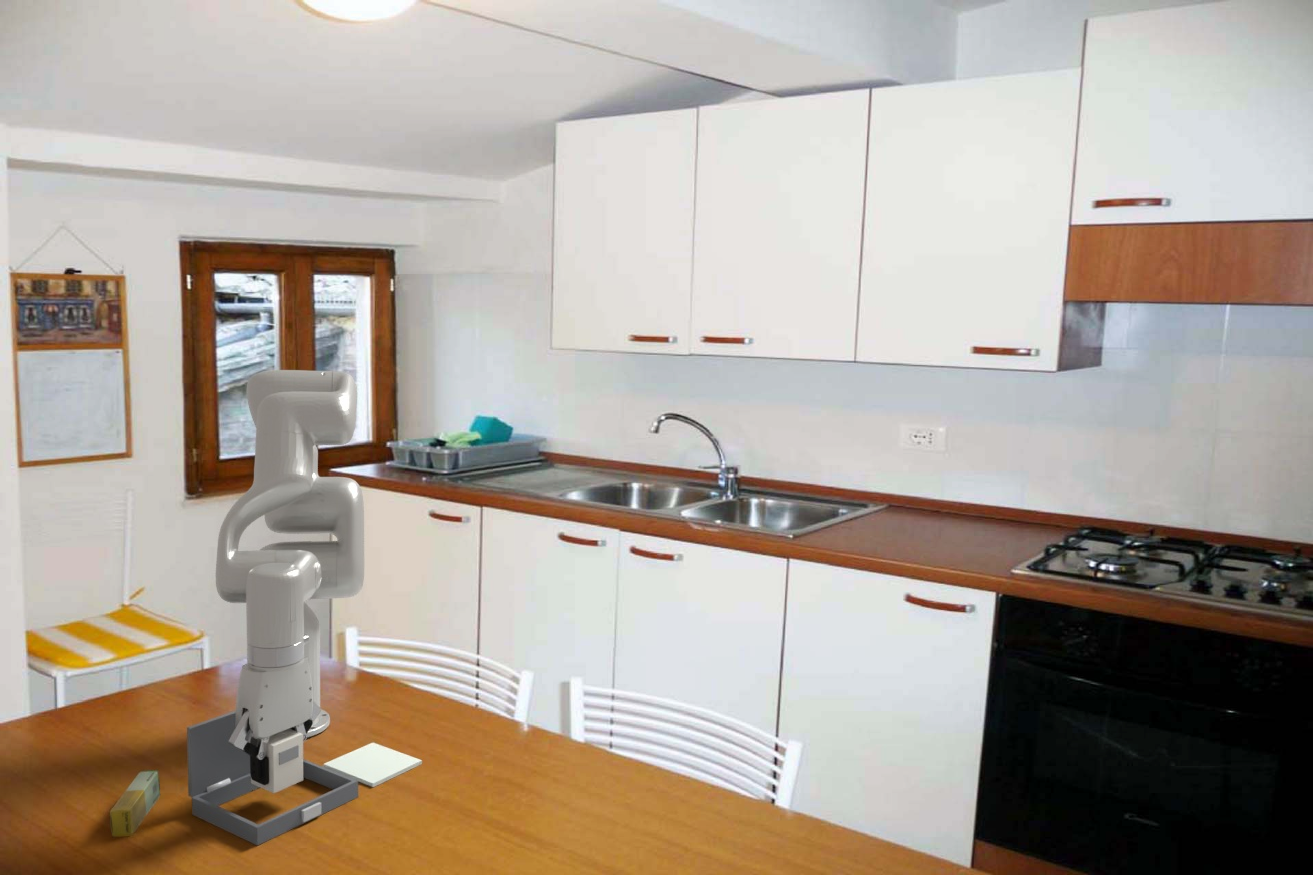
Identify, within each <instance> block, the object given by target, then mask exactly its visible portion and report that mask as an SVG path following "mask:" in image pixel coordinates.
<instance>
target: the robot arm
mask: <svg viewBox="0 0 1313 875" xmlns="http://www.w3.org/2000/svg"><path fill="white" fill-rule="evenodd" d="M246 399H247V400H246V401H247V404H248V408H249V412H250V415H251V419H252V422H253V424H254V427H255V447H254V449H255V451H254V454H255V455H254V466H253V482H252V485H251V487H250V488H249V489H248V490H247V491H246V492H245V493H243V494H242V495H241V496H240V497H239V498H238V499H237V501H235V503H234V504H233V505H232V506H231V507H230V509H229V511H228V512H227V514H226V515H225V517H224V519H223V522H222V524H221V526H220V529H219V533H218V539H217V549H216V550H217V551H216V563H215V587H216V591H217V594H218V596H219V597H220V598H221V599H222V600H223V601H224V602H227V603H230V604H246V605H245V606H246V613H245V614H246V657H247V658H246V660H247V661H246V662H247V663H245V664H242V666H241V668H240V674H239V677H238V683H237V690H236V702H235V710H236V728H235V730H234V732H233V734H232V736H231V737H230V739H229V744H231V745H233V746H235V747H237V748H240V749H241V750H243V751H244V752H246V754H248V755H250V775H251V778H252V780H254V781H256V782H258V783H260V784H263V785H266V784H268V783H269V758H268V757H266V756H265V754H266V750H267V745H268V741H269V736H272V735H275V734H277V733H280V732H282V731H285V730H287V729H292V730H294V731H297V732H299V733H302V734H303V743H305V742H306V740H307V739H308V738H310V737H313V736H316V735H318V734H320V733H322V732H324V731H325V730H326V729H327V728H328V727H329V725H330V723H331V717H330V714H329V713H328V712H327V711H326V710H324V709H322V708H321V627H320V626H321V624H320V622H319V619H318V617H317V615H316V613H315V612H314V611H313V609H312V608H311V607H310V606H309V605H308V604H307V601H310V600H329V599H331V600H332V599H346V598H351V597H354V596H357V595H359V593H360V592H361V590H362V589H363V586H364V582H365V581H364V580H365V510H364V509H365V508H364V507H365V506H364V496H363V492H362V489H361V486H360V484H359V483H358V482H357V481H356V480H355V479H353V478H350V477H344V476H320V475H319V471H318V470H319V469H318V468H319V467H318V466H319V465H318V464H319V462H318V461H319V450H318V447H317V446H342V445H346V444H348V443H350V441H351V440H352V439H353V437H354V433H355V430H356V429H355V428H356V423H357V406H358V390H357V384H356V381H355V379H354V377H353V376H352V375H351V374H350V373H348V372H346V371H340V370H339V371H337V370H306V369H305V370H303V369H299V370H298V369H274V370H264V371H260V372H257V373H255V374H253V375H252V376H250V378H249V379H248V381H247V384H246ZM263 516H264V521H265V525H266V527H267V528H268V529H269V530H270V531H271V532H274V533H277V534H283V535H284V534H287V535H288V534H290V535H292V534H293V535H296V534H297V535H300V534H301V535H303V534H306V535H307V534H309V535H310V534H311V535H312V534H313V535H314V534H331V535H334V536H335V538H336V539H337V540H323V541H318V540H317V541H311V540H309V541H306V540H304V541H302V540H301V541H281V542H279V541H278V542H274V543H271V544H270V543H269V544H267V545H265V546H262V547H261V548H260V549H259V550H239V545H240V540H241V537H242V535H243V533H244V531H245V530H246V529H247V528H248V527H249V526H250V525H251V524H252V523H254V522H255V521H256V520H258V519H260V518H261V517H263ZM248 731H250V734H249V738H248V742H247V741H246V740H245V736H246V734H247V733H248ZM258 740H259V743H258V747H256V745H257V741H258Z"/></svg>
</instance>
